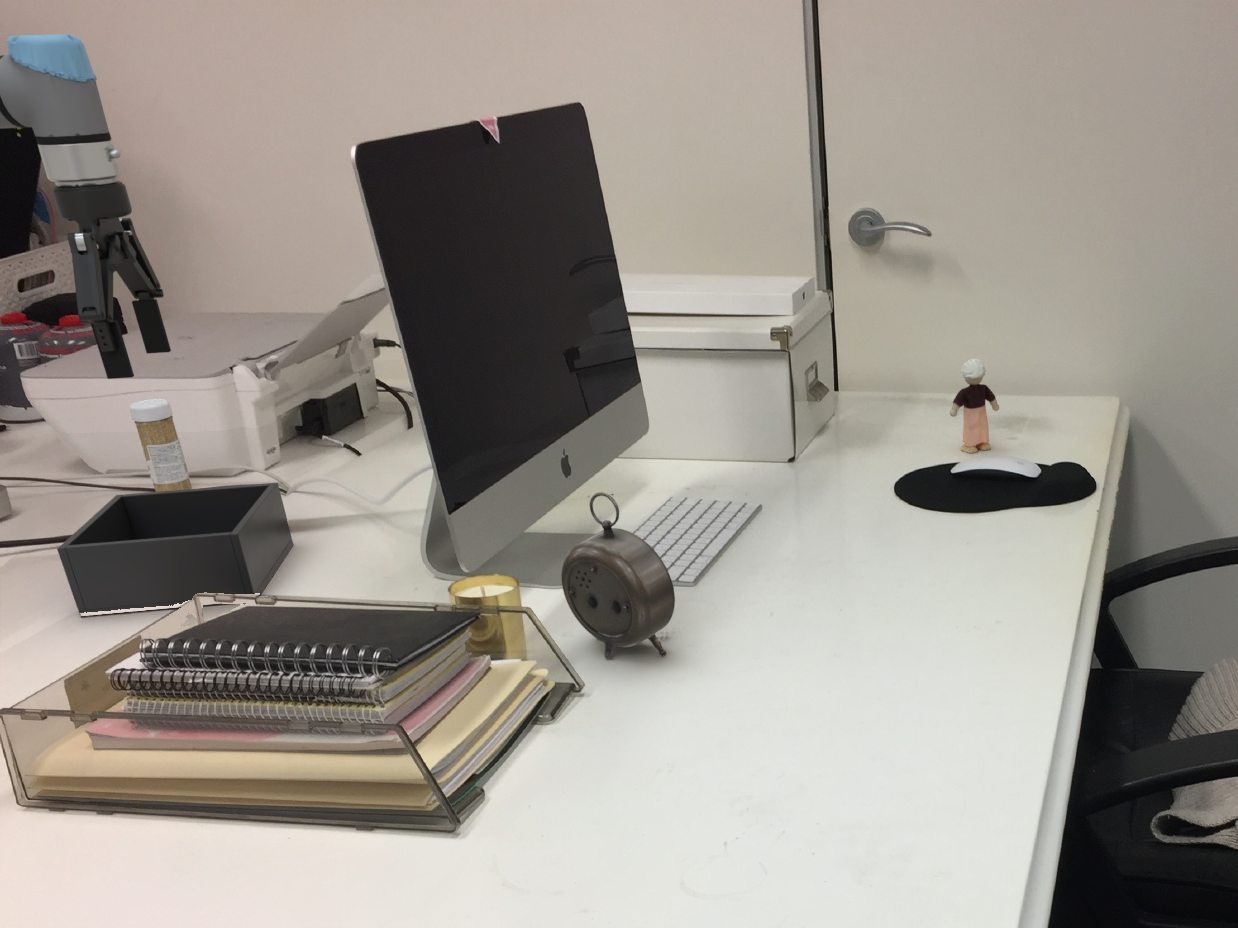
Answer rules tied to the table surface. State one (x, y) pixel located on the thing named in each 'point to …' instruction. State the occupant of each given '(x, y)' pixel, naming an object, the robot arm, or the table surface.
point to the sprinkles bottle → (161, 444)
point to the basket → (177, 547)
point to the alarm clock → (618, 586)
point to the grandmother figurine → (974, 407)
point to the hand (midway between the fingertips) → (140, 364)
